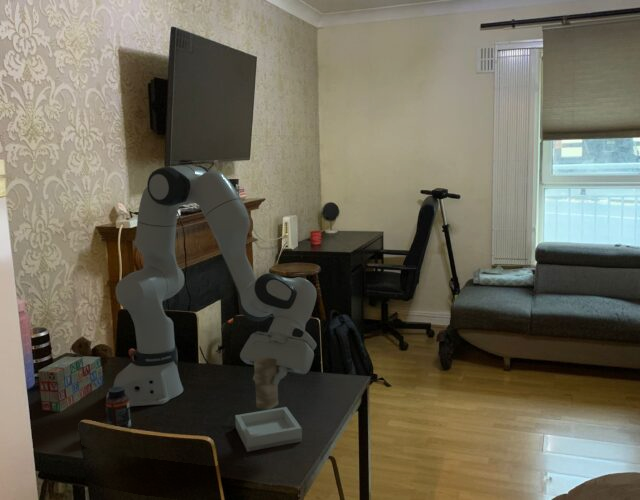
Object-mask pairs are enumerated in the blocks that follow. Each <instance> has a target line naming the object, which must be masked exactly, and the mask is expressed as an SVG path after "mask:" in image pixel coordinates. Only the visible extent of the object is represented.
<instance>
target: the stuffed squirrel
mask: <svg viewBox="0 0 640 500" xmlns="http://www.w3.org/2000/svg"><path fill="white" fill-rule="evenodd" d="M91 346H92V340H89V339H88V338H86V337H85V336H83V335H82V336H80V337H79V338H78V339H77V340H76V339H75V341H74V342H73V344H72V345H71V347H70V349H69V352H70V353H72V352H73V353H74V354H73V355H70V356H69V357H84V356H87V357H101V366H102V373H104V372H105V371H106V370H107V369H108V368H109V363H110V361H109V359H111V358H112V357H113V355H114V352H113V348H112V347H110V346H109V345H107V344H105V343H104V344H103V343H100V344H99V343H98V344H95V345H94V346H93V347H91Z"/></svg>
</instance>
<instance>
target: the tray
mask: <svg viewBox="0 0 640 500" xmlns="http://www.w3.org/2000/svg"><path fill="white" fill-rule="evenodd" d="M234 420H235V421H234V422H235V429H236V431H237V433H238V435H239V437H240V439H241V441H242V443H243V445H244V448H245V451H246V452H252V451H257V450H262V449H267V448H272V447H278V446H284V445H289V444H294V443H295V444H296V443H301V442H303V428H302V426H301V425H300V424H299V423H298V421H297V419H296V418H295V417H294V415H293V414H292V412H291V411H290V410H289V409H288V407H287V406H283V407H278V408H272V409H270V410H267V409H264V410H260V411H259V410H258V411H254V412H247V413H242V414H241V413H240V414H235V419H234Z"/></svg>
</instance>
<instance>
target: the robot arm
mask: <svg viewBox="0 0 640 500" xmlns="http://www.w3.org/2000/svg"><path fill="white" fill-rule="evenodd" d="M146 185H147V186H146V187H145V188H144V190H143V191H142V194H141V198H140V201H139V202H140V203H139V205H138V213H137V224H136V232H135V233H136V234H135V235H136V236H135V247H136V249H137V250H138V252H139V253H141V255H142V259H143V267H142V269H139V270H136V271H133V272H130V273H128V274H127V275H125V276H124V277H123V278H122V279H120V280H119V281H118V283H117V284H116V286H115V297H116V300H117V302H118V304H119V305H120V306H121V307H122V308H124V309H125V310H127V312H128V313H129V315H130V317H131V319H132V321H133V325H134V329H135V330H134V331H135V339H136V349H135V348H129V350H128V355H129V357H130V363H129V364H128V365H127V366H126V367H124V368H123V369H122V370H121V371H120V372H118V374H117V375H116V376H115V379H114V381H113V386H112V388H113V387H119V386H120V387H124V390H125V394H126V395H128V397H129V404H130V407H139V406H152V405H153V406H154V405H164V404H165V403H167V402H169V401H170V400H171V399H174V398H176V397H179V395H181V394H182V393H183V392H184V386H183V384H182V381H181V379H180V374H179V369H178V359H179V358H178V348H177V345H176V342H175V328H174V322H173V320H172V319H171V317H168V316H167V314H166V313H165V310H164V306H163V302H164V301H167V300H168V299H171V298H172V297H175V295H176V294H178V293H179V292H180V291H181V290H182V289H183V287H184V285H185V275H184V272H183V270H182V269H181V267H180V266H179V265H178V261H177V256H176V250H175V249H176V234H177V221H178V212H179V209H180V207H181V206H188V205H191V204H196V205H197V207H199V209H200V210H201V212H202V214H203V217H204V218H205V220H206V222H207V224H208V226H209V229H210V230H211V232H212V235H213V236H214V239H215V241H216V244H217V246H218V248H219V251H220V254H221V256H222V259H223V261H224V263H225V266H226V269H227V270H228V273H229V275H230V278H231V280H232V282H233V284H234V288H235V290H236V294H237V302H238V303H237V304H238V308H239V311H240V312H241V315H243V316H244V317H245V318H246V319H248V320H249V321H253V322H264V321H265V320H267V319H268V318H270V317H271V315H273V316H274V317H273V320H272V322H271V325H270V326H269V328H268V331H262V330H257V331H256V332H253V333H251V334H250V336H249V338H248V339H247V340H246V342H245V344H244V345H243V347H242V349H241V351H240V353H239V357H240V360H241V361H242V362H244V363H245V364H247V365H252V366H254V362H255V361H257V360H259V359H261V358H263V357H266V358H271V359H276V363H275V364H276V365H277V370H278V372H277V375H276V376H272V378H271V380H270V383H271V384H272V385H275V386H278V385H279V383H280V382H281V380H282V379H283V378H285V377H286V376H287V375H288V372H289V373H296V374H300V375H305V374H307V373H308V372H309V371H310V369H311V367H312V364H313V361H314V357H315V353H314V350H315V349H316V348H317V342H316V341H315V339H313V337H312V336H311V335H310V334H309V332H307V331H306V324H307V323H308V321H309V320H310V319H311V316H312V313H313V311H314V308H315V305H316V301H317V295H318V293H317V288H316V287H315V286H314V284H313V283H312V282H311V281H310V280H307V279H306V278H303V277H301V276H298V277H293V278H292V277H291V278H290V277H284V276H280V275H278V274H275V273H271V272H269V273H268V272H267V273H264V274H262V275H260V276H259V277H256V274H255V272H254V269H253V267H252V265H251V263H250V260H249V259H248V255H247V249H246V246H247V245H246V244H247V240H248V239H247V238H248V235H249V230H250V227H251V219H250V216H249V213H248V210H247V207H246V205H245V204H244V202H243V200H242V198H241V195H240V194H239V193H238V191H237V189H236V188H235V187H234V185H233V183H232V182H231V180H230V179H229V178H228V177H227V176H226V175H225V174H224V173H223V172H222V171H219V170H211V169H209V168H208V167H206V166H203V165H202V166H201V165H191V164H190V165H187V164H179V165H174V166H164V167H162V166H161V167H159V168H157V169H155V170H153V171H152V172H151V174H149V177H148V179H147V184H146ZM254 372H255V370H254ZM252 381H254V382H255V373H254V374H253V377H252ZM278 387H279V386H278ZM108 396H109V391H108V392H107V393H106V399H107V398H108ZM106 399H105V400H106Z"/></svg>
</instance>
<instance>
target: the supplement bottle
mask: <svg viewBox="0 0 640 500" xmlns="http://www.w3.org/2000/svg"><path fill="white" fill-rule="evenodd" d="M108 392H109V396H108V398H107V399H105V411H106V420H107V421H106V423H107V425H108V424H110V425H115V426H121V427H127V428H130V429H131V428H132V417H131V406H130V404H129V397H128V395H126V394H125V390H124V387H120V386H119V387H113V386H112V387H111V388H109V389H108Z"/></svg>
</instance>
